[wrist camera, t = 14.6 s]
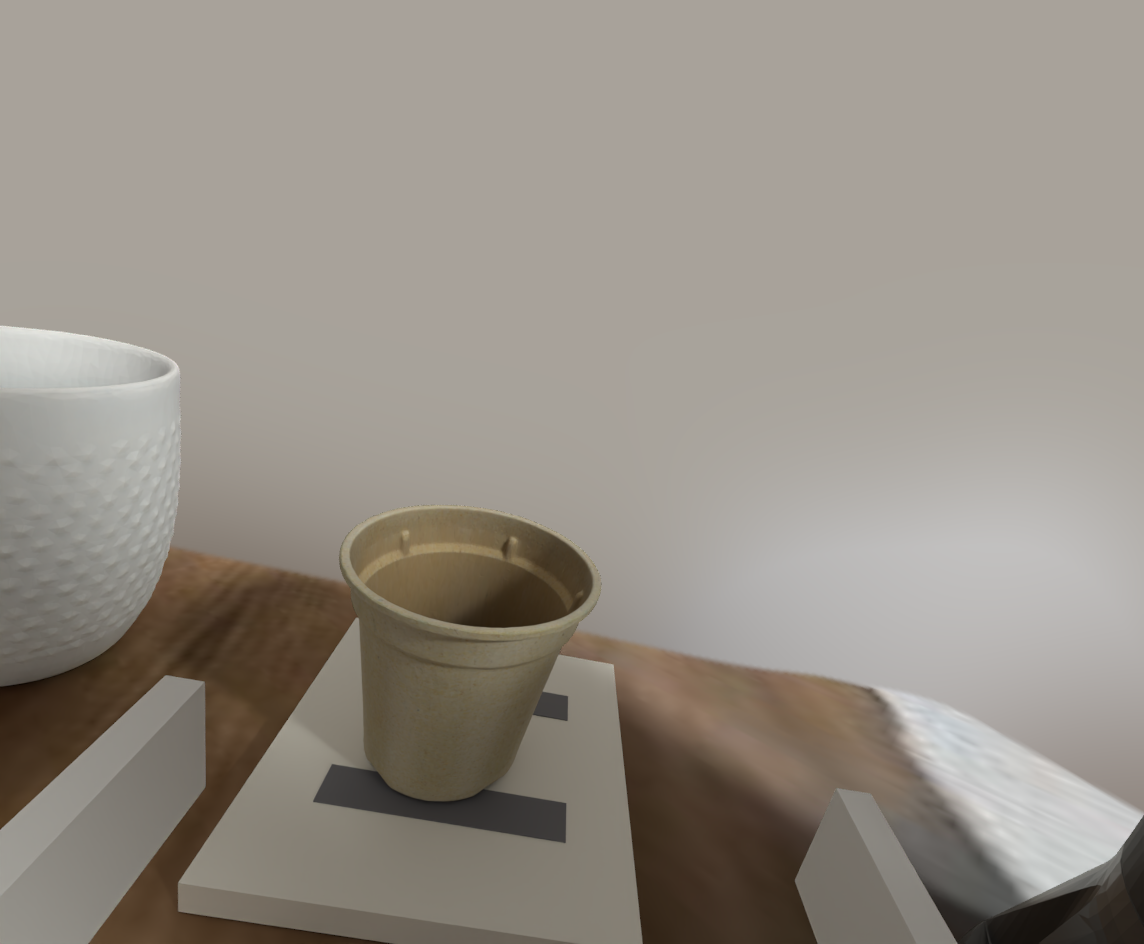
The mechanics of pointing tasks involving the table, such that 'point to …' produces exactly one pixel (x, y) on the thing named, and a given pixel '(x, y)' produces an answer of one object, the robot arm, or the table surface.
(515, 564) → the flower pot
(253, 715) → the table surface
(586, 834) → the letter board
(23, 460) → the mug
